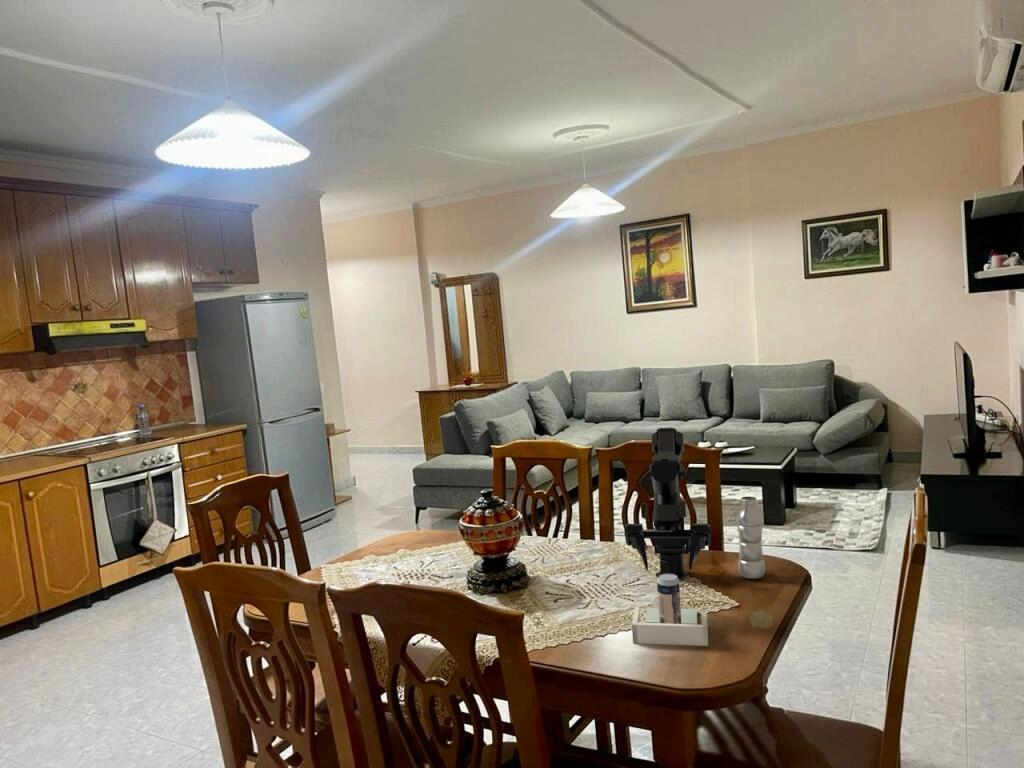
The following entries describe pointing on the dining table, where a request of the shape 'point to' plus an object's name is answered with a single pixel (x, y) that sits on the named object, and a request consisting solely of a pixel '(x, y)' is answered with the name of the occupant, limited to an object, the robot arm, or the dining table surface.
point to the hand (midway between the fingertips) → (668, 570)
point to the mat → (686, 616)
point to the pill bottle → (669, 599)
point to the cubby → (669, 632)
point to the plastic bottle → (750, 539)
